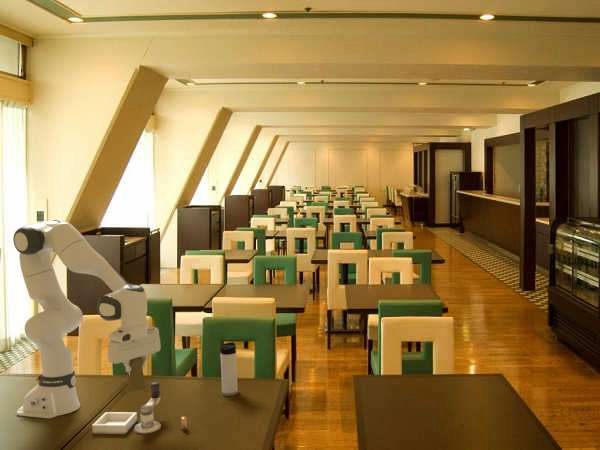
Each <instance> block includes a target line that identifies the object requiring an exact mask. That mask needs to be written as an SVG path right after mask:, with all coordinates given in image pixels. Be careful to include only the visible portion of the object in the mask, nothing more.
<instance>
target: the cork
mask: <svg viewBox="0 0 600 450" xmlns="http://www.w3.org/2000/svg"><path fill="white" fill-rule="evenodd" d="M143 363H144V360H143V358H142V357H138V358H135V359H131V360H130V363H128V364H129V366H130V367H132V371H131V372H129V375H128V384H127V390H128V391H129V390H130V391H142V390H144V389H146V382H145V375H144V370H143V369H144V368H142V365H143Z"/></svg>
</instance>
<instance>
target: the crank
mask: <svg viewBox="0 0 600 450" xmlns="http://www.w3.org/2000/svg"><path fill="white" fill-rule="evenodd" d="M150 393H151V395H150V396H151V397H150V399H149V400H148V401H147V403H146V404H144V405H142V406H140V414H142V415H148V414H151V413H152V412H153V413H154V411H153V409H155V408H156V406H157V405H158V404H159V403H160V402H161V394H160V393H161V390H160V382H159V381H153V382H151V383H150Z"/></svg>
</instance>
